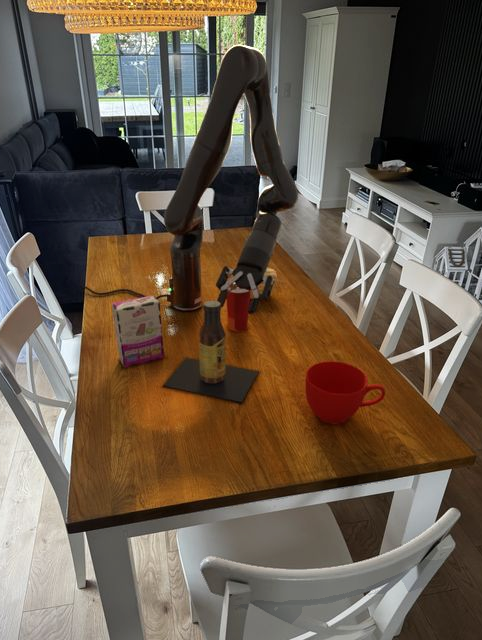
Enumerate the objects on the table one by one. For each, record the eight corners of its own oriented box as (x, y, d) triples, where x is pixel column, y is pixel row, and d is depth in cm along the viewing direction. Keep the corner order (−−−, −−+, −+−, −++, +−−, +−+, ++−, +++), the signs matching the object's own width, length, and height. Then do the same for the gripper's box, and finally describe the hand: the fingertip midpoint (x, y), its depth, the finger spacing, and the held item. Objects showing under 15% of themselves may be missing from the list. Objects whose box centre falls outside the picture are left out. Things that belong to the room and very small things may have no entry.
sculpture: (249, 305, 158) (250, 274, 153) (234, 292, 168) (234, 262, 162) (280, 300, 162) (282, 269, 157) (263, 287, 172) (265, 257, 166)
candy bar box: (158, 349, 133) (154, 294, 125) (164, 358, 129) (161, 301, 121) (118, 359, 128) (110, 302, 120) (123, 368, 125) (116, 310, 116)
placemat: (162, 386, 117) (162, 385, 117) (186, 358, 129) (185, 357, 129) (241, 403, 112) (241, 402, 112) (258, 372, 123) (258, 371, 123)
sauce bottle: (222, 386, 117) (222, 311, 107) (197, 383, 118) (194, 308, 108) (227, 372, 123) (228, 299, 113) (203, 369, 124) (202, 297, 114)
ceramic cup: (382, 439, 101) (390, 399, 96) (300, 429, 104) (304, 390, 99) (377, 402, 112) (384, 365, 107) (303, 395, 115) (307, 358, 110)
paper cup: (253, 323, 147) (255, 280, 140) (246, 334, 141) (247, 289, 134) (229, 319, 149) (229, 276, 142) (220, 330, 143) (220, 286, 136)
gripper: (227, 240, 125) (204, 297, 122) (279, 250, 119) (256, 310, 116) (237, 254, 131) (215, 309, 128) (286, 264, 126) (264, 321, 123)
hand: (234, 309), depth 122 cm, fingers open, 8 cm apart
